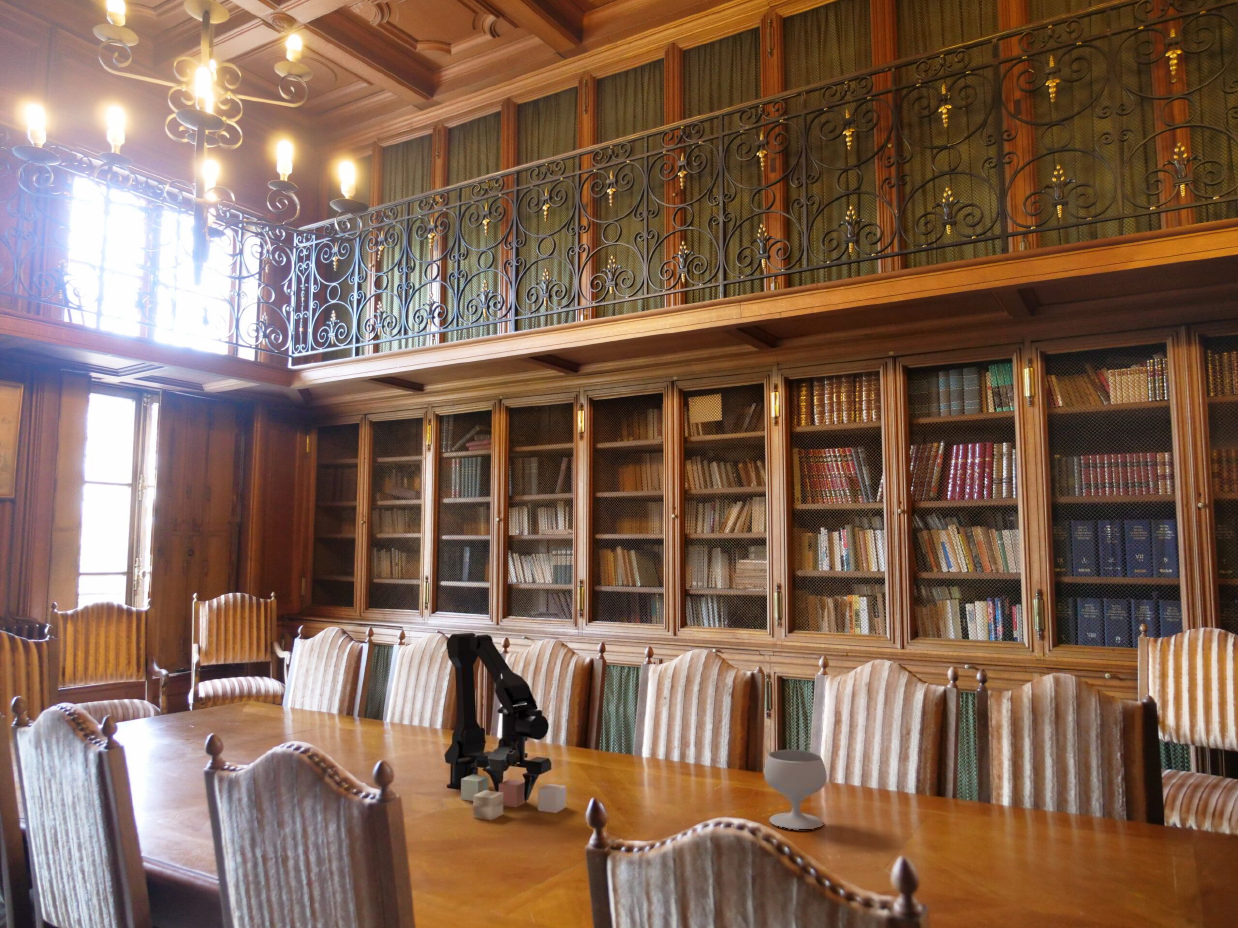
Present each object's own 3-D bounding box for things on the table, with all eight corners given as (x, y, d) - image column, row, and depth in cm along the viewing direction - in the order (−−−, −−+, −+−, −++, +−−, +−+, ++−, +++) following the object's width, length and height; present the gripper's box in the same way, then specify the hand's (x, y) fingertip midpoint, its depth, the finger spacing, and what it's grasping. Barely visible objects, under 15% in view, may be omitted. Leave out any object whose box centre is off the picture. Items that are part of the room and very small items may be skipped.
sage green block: (460, 799, 209) (461, 778, 209) (472, 794, 213) (472, 774, 214) (477, 801, 207) (478, 781, 207) (488, 796, 211) (489, 776, 212)
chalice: (830, 817, 195) (828, 750, 196) (824, 836, 182) (823, 764, 183) (770, 811, 199) (769, 746, 201) (760, 829, 186) (759, 759, 188)
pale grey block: (537, 810, 200) (538, 788, 200) (547, 804, 204) (548, 783, 205) (556, 813, 198) (556, 791, 198) (566, 807, 202) (566, 785, 203)
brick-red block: (498, 804, 204) (498, 783, 205) (509, 799, 209) (509, 778, 209) (516, 807, 202) (516, 786, 203) (526, 801, 207) (526, 780, 207)
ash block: (473, 817, 194) (473, 795, 195) (484, 811, 199) (485, 789, 199) (491, 820, 192) (491, 797, 193) (502, 814, 197) (503, 792, 197)
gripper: (463, 736, 204) (462, 802, 202) (530, 743, 196) (529, 812, 195) (488, 727, 214) (487, 791, 212) (552, 734, 207) (552, 799, 205)
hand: (512, 798), depth 206 cm, fingers open, 7 cm apart
